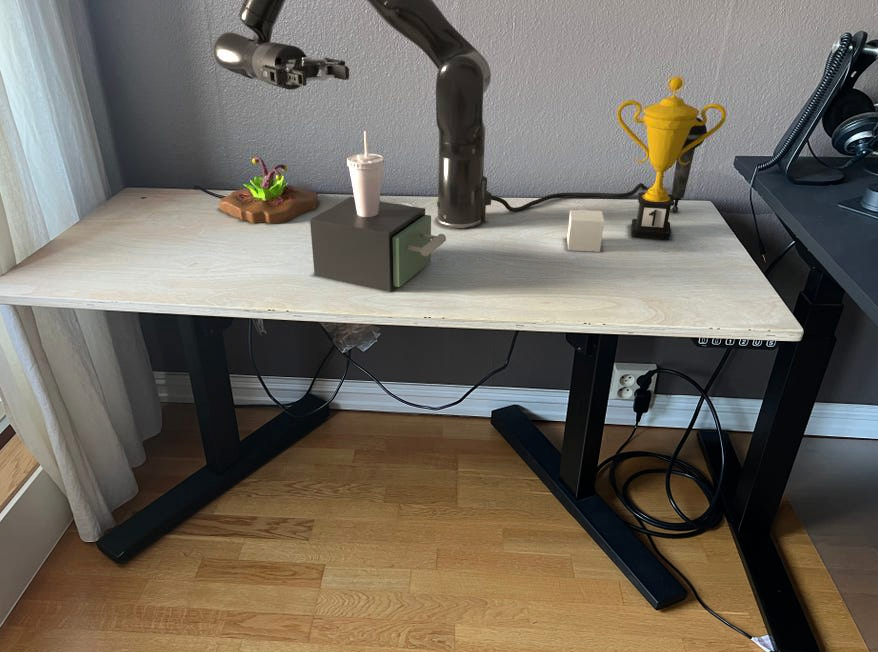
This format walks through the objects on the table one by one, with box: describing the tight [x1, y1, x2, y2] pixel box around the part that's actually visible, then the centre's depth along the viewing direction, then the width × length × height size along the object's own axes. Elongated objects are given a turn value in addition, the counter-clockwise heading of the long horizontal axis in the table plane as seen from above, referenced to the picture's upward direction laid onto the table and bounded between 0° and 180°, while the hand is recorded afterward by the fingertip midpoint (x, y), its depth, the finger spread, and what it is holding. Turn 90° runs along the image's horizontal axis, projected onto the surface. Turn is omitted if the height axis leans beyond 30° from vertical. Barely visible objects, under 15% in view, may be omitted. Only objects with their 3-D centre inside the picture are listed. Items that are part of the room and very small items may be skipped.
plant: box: [218, 156, 319, 224], centre depth 159 cm, size 20×20×11 cm
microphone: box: [670, 116, 708, 213], centre depth 150 cm, size 7×7×20 cm
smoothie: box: [346, 130, 386, 217], centre depth 122 cm, size 6×6×14 cm
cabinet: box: [309, 196, 426, 292], centre depth 128 cm, size 16×14×11 cm
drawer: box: [391, 214, 447, 288], centre depth 126 cm, size 19×12×9 cm, turn 62°
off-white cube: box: [566, 209, 605, 253], centre depth 138 cm, size 6×6×6 cm
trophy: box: [616, 75, 727, 241], centre depth 137 cm, size 19×10×30 cm, turn 74°
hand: (326, 76), depth 122 cm, fingers open, 8 cm apart
